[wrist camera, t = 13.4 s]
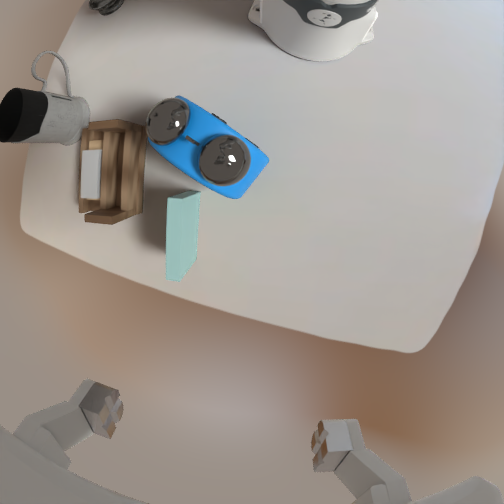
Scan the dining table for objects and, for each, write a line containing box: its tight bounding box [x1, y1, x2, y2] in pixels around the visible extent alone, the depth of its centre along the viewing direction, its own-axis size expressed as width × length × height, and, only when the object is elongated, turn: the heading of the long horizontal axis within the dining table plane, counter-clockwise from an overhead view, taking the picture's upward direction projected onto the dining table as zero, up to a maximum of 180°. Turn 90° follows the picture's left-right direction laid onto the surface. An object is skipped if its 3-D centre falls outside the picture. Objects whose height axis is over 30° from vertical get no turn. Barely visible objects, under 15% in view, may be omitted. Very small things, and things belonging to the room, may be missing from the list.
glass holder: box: [0, 51, 90, 145], centre depth 26 cm, size 9×14×15 cm, turn 156°
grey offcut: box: [81, 150, 103, 199], centre depth 33 cm, size 7×3×2 cm, turn 174°
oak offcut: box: [87, 140, 103, 200], centre depth 35 cm, size 9×3×2 cm, turn 174°
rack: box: [79, 119, 147, 225], centre depth 33 cm, size 13×10×8 cm
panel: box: [166, 191, 201, 282], centre depth 35 cm, size 10×2×8 cm, turn 174°
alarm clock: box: [145, 96, 269, 199], centre depth 28 cm, size 13×6×15 cm, turn 53°
